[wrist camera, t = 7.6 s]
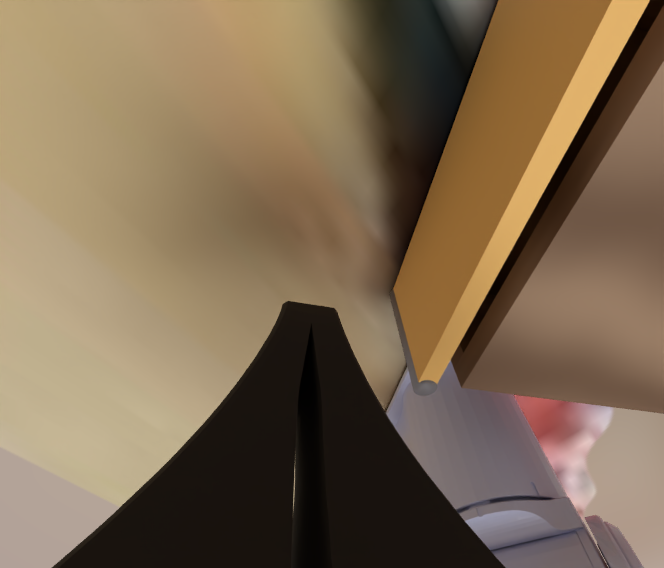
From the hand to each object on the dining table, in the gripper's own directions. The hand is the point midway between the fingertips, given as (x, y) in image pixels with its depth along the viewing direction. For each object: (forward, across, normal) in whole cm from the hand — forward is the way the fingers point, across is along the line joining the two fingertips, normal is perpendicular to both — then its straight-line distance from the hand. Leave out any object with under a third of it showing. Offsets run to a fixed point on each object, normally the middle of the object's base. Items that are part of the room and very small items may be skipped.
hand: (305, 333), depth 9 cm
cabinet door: (+9, -6, -3) cm, 11 cm away
